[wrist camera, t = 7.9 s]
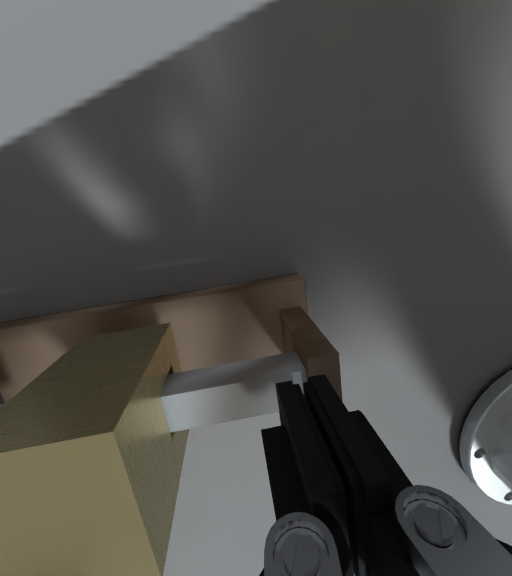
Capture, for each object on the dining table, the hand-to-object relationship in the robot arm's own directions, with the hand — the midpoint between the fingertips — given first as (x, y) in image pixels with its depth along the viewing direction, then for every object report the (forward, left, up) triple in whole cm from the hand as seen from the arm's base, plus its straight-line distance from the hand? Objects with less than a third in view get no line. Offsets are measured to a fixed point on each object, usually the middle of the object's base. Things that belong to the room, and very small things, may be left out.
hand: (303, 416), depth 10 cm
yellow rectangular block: (+7, 0, -5) cm, 8 cm away
